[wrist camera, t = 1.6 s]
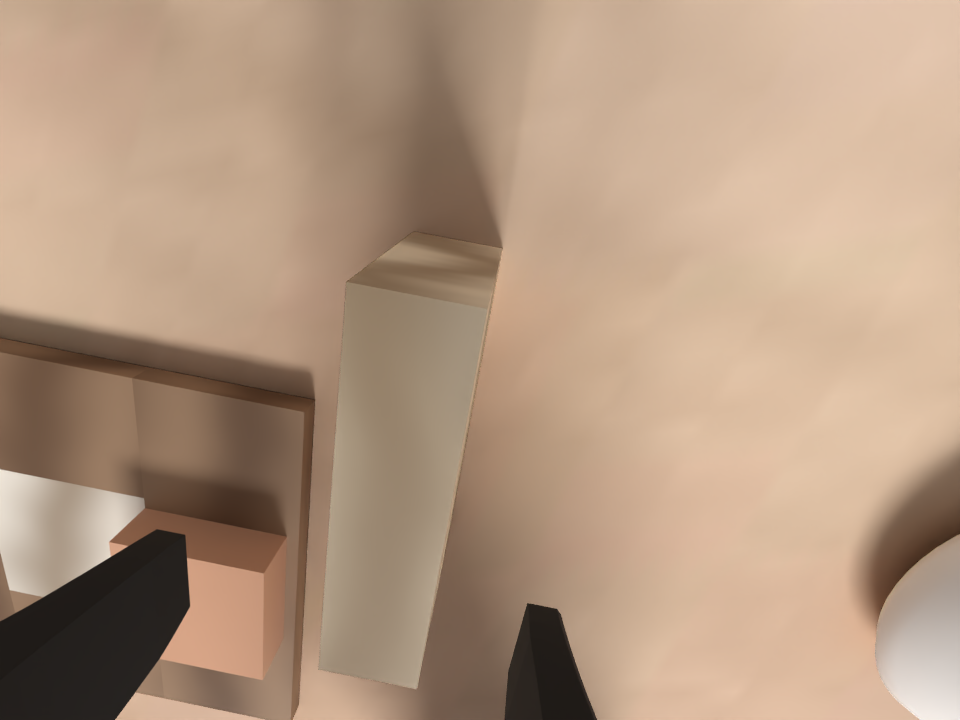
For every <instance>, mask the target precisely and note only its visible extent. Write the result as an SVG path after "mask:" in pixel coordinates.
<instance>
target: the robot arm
mask: <svg viewBox="0 0 960 720" xmlns="http://www.w3.org/2000/svg"><path fill="white" fill-rule="evenodd" d="M189 608H190V595H189V580H188V565H187V551H186V536H185V535H184V534H179V533H174V532H169V531H164V530H159V529H156V530H155V531H153V532H151V533H149V534H148V535H146V536H144V537H143V538H141V539H139V540H138V541H136V542H134V543H133V544H131V545H129V546H128V547H126V548H124V549H123V550H121V551H119V552H118V553H116V554H115V555H113V556H111V557H110V558H108V559H106V560H105V561H103V562H101V563H100V564H98V565H96V566H95V567H93V568H92V569H90V570H88V571H87V572H85V573H83V574H82V575H80V576H78V577H77V578H75V579H73V580H72V581H70V582H68V583H66V584H65V585H63V586H61V587H60V588H58V589H56V590H55V591H53V592H51V593H50V594H48V595H46V596H45V597H43V598H41V599H39V600H38V601H36V602H34V603H33V604H31V605H29V606H27V607H25V608H24V609H22V610H20V611H18V612H16V613H15V614H13V615H11V616H9V617H7V618H5V619H4V620H2V621H0V720H115V719H116V718H117V716H118V715H119V714H120V712H121V711H122V710H123V708H124V707H125V706H126V704H127V703H128V702H129V700H130V699H131V697H132V696H133V695H134V693H135V692H136V691H137V689H138V688H139V687H140V685H141V684H142V682H143V681H144V680H145V678H146V677H147V676H148V674H149V673H150V671H151V670H152V669H153V667H154V666H155V665H156V663H157V662H158V660H159V659H160V658H161V656H162V654H163V653H164V651H165V649H166V648H167V646H168V644H169V643H170V641H171V639H172V638H173V636H174V634H175V633H176V631H177V629H178V627H179V626H180V624H181V622H182V620H183V619H184V617H185V615H186V613H187V611H188V610H189ZM505 720H597V718H596V716H595V713H594V711H593V708H592V706H591V703H590V701H589V698H588V696H587V693H586V691H585V688H584V685H583V683H582V680H581V677H580V674H579V671H578V668H577V666H576V663H575V660H574V657H573V654H572V651H571V648H570V645H569V641H568V638H567V635H566V632H565V628H564V625H563V621H562V617H561V614H560V613H559V611H558V610H557V609H554V608H549V607H544V606H539V605H534V604H529V603H527V607H526V610H525V614H524V617H523V621H522V625H521V628H520V632H519V635H518V639H517V642H516V646H515V650H514V653H513V657H512V660H511V664H510V668H509V672H508V683H507V695H506V707H505Z"/></svg>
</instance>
